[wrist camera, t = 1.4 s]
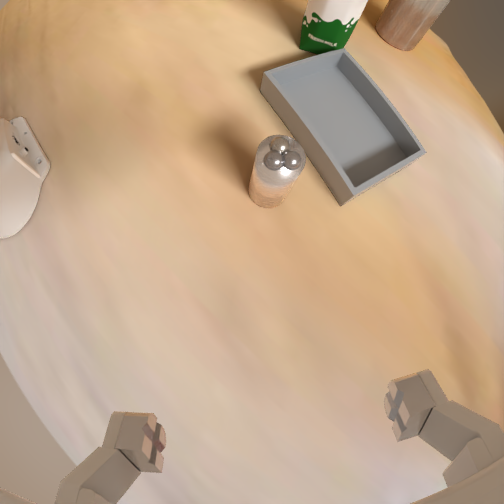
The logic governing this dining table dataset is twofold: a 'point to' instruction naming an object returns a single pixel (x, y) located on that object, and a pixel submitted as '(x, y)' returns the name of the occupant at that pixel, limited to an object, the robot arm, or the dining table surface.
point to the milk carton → (329, 24)
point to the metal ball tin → (275, 170)
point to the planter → (408, 21)
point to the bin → (341, 121)
